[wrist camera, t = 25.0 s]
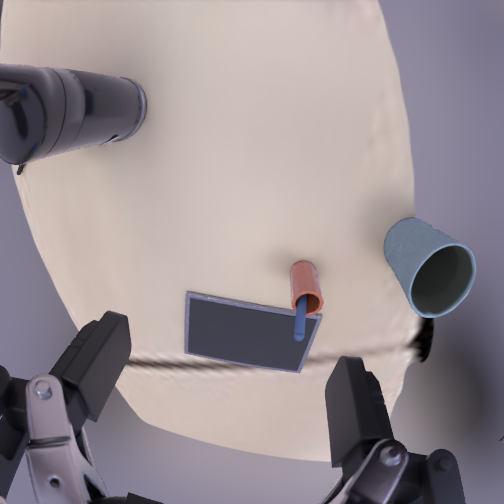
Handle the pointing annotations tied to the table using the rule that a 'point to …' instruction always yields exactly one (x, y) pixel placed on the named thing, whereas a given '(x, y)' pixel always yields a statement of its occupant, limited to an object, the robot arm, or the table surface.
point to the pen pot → (305, 287)
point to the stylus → (300, 318)
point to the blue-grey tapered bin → (429, 266)
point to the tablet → (246, 333)
